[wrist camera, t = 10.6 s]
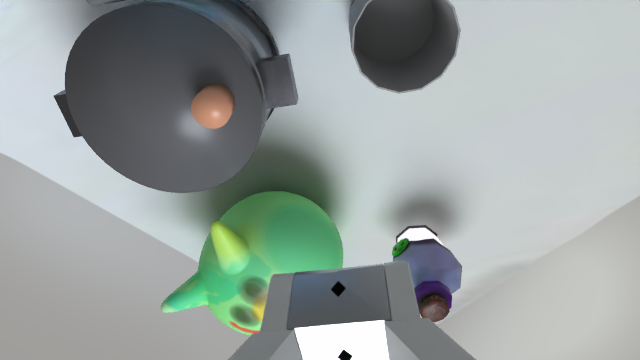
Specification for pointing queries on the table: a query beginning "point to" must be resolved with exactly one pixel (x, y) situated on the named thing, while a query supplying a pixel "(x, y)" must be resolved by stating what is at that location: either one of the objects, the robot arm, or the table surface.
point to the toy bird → (257, 256)
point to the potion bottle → (429, 270)
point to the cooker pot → (252, 36)
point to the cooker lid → (164, 96)
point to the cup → (403, 41)
